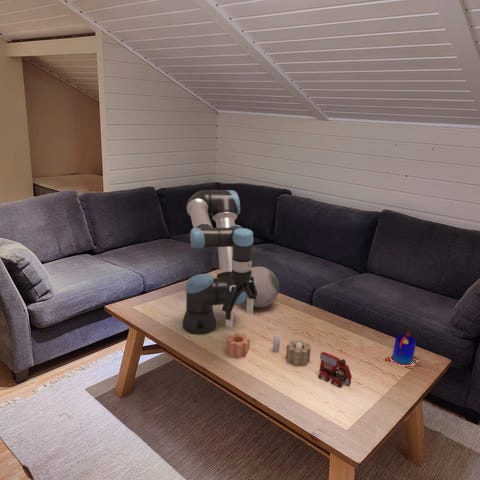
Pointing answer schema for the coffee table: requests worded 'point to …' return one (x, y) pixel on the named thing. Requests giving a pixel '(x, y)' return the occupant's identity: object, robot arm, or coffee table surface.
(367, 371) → the coffee table surface
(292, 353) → the gear
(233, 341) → the loose gear
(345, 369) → the toy fire truck
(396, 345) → the fantasy tower
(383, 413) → the coffee table surface
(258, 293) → the moon model
